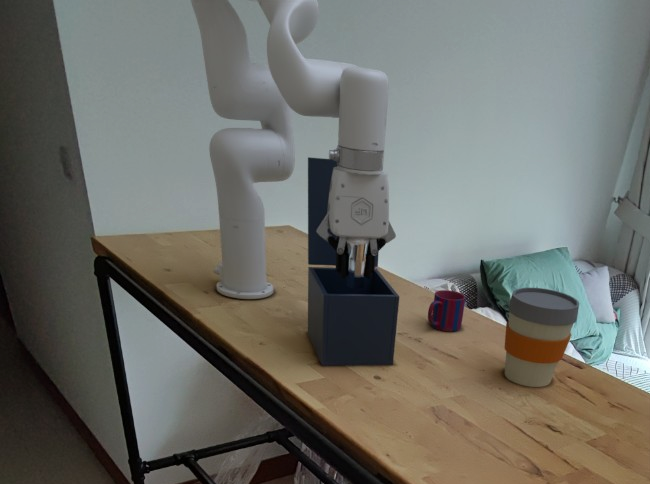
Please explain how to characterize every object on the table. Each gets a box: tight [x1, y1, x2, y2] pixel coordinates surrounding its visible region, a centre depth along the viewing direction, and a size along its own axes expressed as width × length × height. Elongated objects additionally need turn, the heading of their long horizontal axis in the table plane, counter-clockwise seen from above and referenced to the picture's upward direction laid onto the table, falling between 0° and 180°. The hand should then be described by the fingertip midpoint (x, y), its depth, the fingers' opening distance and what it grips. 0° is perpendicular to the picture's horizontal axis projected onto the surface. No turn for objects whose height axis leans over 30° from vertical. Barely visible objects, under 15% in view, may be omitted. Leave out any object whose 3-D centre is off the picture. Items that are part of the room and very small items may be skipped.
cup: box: [427, 289, 467, 333], centre depth 139 cm, size 7×10×7 cm
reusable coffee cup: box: [504, 287, 580, 388], centre depth 120 cm, size 13×12×15 cm
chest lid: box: [307, 157, 380, 268], centre depth 120 cm, size 18×14×1 cm
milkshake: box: [344, 237, 370, 289], centre depth 115 cm, size 4×5×10 cm
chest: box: [307, 266, 400, 367], centre depth 123 cm, size 17×14×13 cm
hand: (354, 275), depth 117 cm, fingers closed on milkshake, 4 cm apart
